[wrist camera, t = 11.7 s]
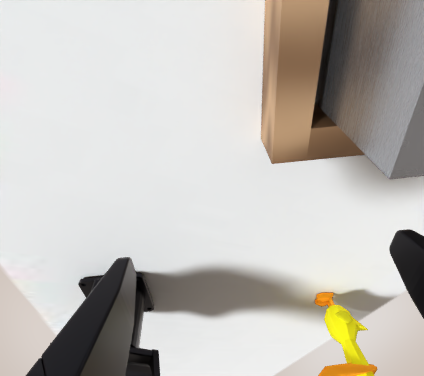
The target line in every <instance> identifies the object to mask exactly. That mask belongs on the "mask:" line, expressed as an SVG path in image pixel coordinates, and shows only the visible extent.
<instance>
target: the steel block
mask: <svg viewBox="0 0 424 376" xmlns="http://www.w3.org/2000/svg"><path fill="white" fill-rule="evenodd" d="M315 103H316V104H317V105H318V106H319V107H320V108H321V109H322V110H323V112H324V113H325V114H326V115H327V116H328V117H329V118H330V119H331V120H332V121H333V122H334V123H335V124H336V125H337V126H338V127H339V128H340V129H341V130H342V131H343V132H344V133H345V134H346V135H347V136H348V137H349V138H350V139H351V140H352V141H353V142H354V143H355V144H356V145H357V147H358V148H359V149H360V150H361V151H362V152H363V153H364V154H365V155H366V156H367V157H368V158H369V159H370V160H371V161H372V162H373V163H374V164H375V165H376V166H377V167H378V168H379V169H380V170H381V171H382V172H383V173H384V174H385V175H386V176H387V177H388V178H389V179H396V178H406V177H416V176H424V0H329V7H328V14H327V20H326V27H325V34H324V41H323V48H322V55H321V62H320V69H319V76H318V83H317V90H316V97H315Z"/></svg>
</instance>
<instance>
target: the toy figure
mask: <svg viewBox="0 0 424 376" xmlns="http://www.w3.org/2000/svg"><path fill="white" fill-rule="evenodd" d="M333 295H334V294H333V293H320V294H317V295H316V299H315V304H316V305H319V306H321V307H322V306H326V305H328V307H329V308H328V309H327V310H326V314H325V318H324V320H325V323H326V325H327V328H328V330H329V333H330V335H331V336H332V338H334V339H335V340H336V341H338V342H339V343H340V344H342V347H343V351H344V354H345V358H346V361H347V363H346V364H339V365H332V366H325V367H324V369H323V370H322V371H321V373H320V374H319V375H318V376H374V374H375V372H376V371H377V367H376V366H374V365H371V364H368V362H367V360H366V359H365V357H364V355H363V354H362V352H361V350H360V348H359V347H358V345H357V343H356V336H357V332H358V331H360V330H368V329H367V328H365V327H364V326H363V325H361V324H360V323H359V322H358V321H357V320H355V319H354V318H353V317H352V316H351V314H350V312H349V311H347V310H346V309H345V308H343V307H342V306H340V305H335V304H334V302H333V300H332V297H333Z"/></svg>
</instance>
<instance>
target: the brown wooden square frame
mask: <svg viewBox="0 0 424 376" xmlns="http://www.w3.org/2000/svg"><path fill="white" fill-rule="evenodd" d="M328 7H329V0H265V24H264V56H263V89H262V121H261V140H262V142H263V144H264V147H265V149H266V151H267V153H268V156H269V158H270V160H271V163H272V164H275V163H285V162H295V161H305V160H316V159H326V158H336V157H346V156H356V155H365V154H364V153H363V152H362V151H361V150H360V149H359V148H358V147H357V145H356V144H355V143H354V142H353V141H352V140H351V139H350V138H349V137H348V136H347V135H346V134H345V133H344V132H343V131H342V130H341V129H340V128H339V127H338V126H337V125H336V124H335V123H334V122H333V121H332V120H331V119H330V118H329V117H328V116H327V115H326V114H325V113H324V112H323V110H322V109H321V108H320V107H319V106H318V105H317V104H315V97H316V90H317V83H318V76H319V69H320V62H321V55H322V48H323V41H324V34H325V27H326V20H327V14H328ZM314 104H315V105H314Z"/></svg>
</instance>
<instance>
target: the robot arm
mask: <svg viewBox="0 0 424 376" xmlns="http://www.w3.org/2000/svg"><path fill="white" fill-rule="evenodd" d="M390 254H391V256H392V258H393V261H394V263H395V265H396V267H397V269H398V271H399V274H400V276H401V278H402V280H403V282H404V284H405V286H406V289H407V291H408V293H409V294H410V296H411V298H412V300H413V302H414V303H415V305H416V307H417V308H418V310H419V312H420V313H421V315H422V317H423V318H424V236H422V235H420V234H419V233H417V232H415V231H413V230H399V231H397V232H396V234H395V236H394V238H393V240H392V243H391V245H390ZM79 287H80V288H81V290H82V292H83V293H84V295H85V297H86V299H85V300H84V302H83V303H82V304H81V306H80V307H79V308H78V309H77V311H76V312H75V313H74V315H73V316H72V317H71V318H70V320H69V321H68V322H67V324H66V325H65V326H64V327H63V329H62V330H61V331H60V333H59V334H58V335H57V336H56V338H55V339H54V340H53V342H52V343H50V346H49V347H48V348H47V349H46V351H45V352H44V353H43V354H42V358H40V359H38V361H37V362H36V363H35V365H34V366H33V367H32V368H31V370H30V371H29V372H28V374H27V375H26V376H160V367H159V352H158V350H154V349H153V350H147V349H141V348H139V344H140V336H141V328H142V321H143V313H144V312H147V311H152V310H154V304H153V301H152V298H151V295H150V292H149V290H148V287H147V284H146V281H145V279H144V276H143V274H141V273H136V272H135V269H134V266H133V263H132V260H131V258H130V257H124V258H118V259H117V260H116V261H115V262H114V263H113V265H112V266H111V267H110V268H109V270H108V271H107V272H106V274H105V275H104V276H103V277H94V278H84V279H81V280H80V282H79Z"/></svg>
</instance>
